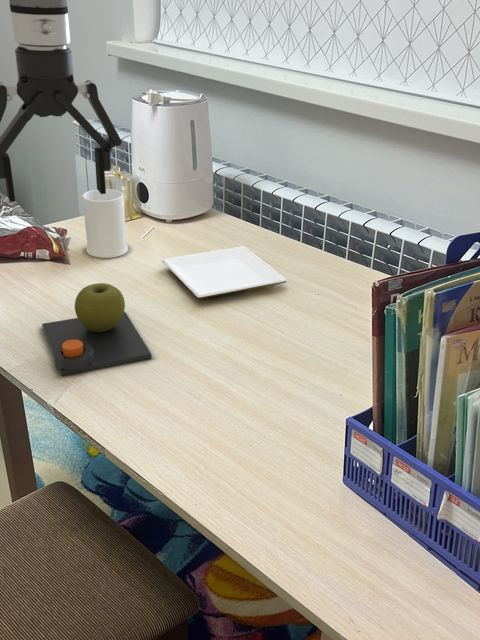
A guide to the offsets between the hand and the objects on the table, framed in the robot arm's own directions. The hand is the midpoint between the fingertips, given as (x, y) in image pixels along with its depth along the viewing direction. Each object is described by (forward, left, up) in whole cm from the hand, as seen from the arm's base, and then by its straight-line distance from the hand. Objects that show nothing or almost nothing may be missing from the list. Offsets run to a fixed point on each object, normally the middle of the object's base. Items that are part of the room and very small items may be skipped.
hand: (57, 195), depth 107 cm
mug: (-31, +14, -23) cm, 41 cm away
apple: (+5, +4, -22) cm, 23 cm away
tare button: (+14, -2, -20) cm, 25 cm away
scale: (+8, +2, -22) cm, 24 cm away
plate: (-8, +31, -23) cm, 39 cm away
